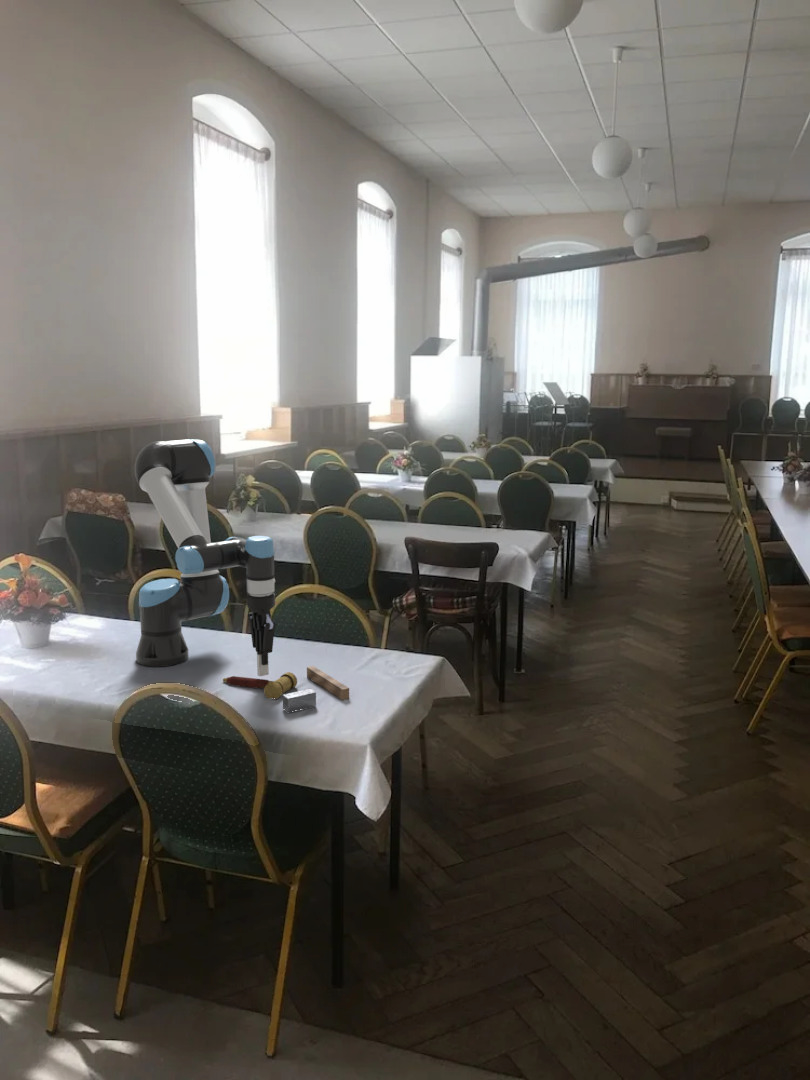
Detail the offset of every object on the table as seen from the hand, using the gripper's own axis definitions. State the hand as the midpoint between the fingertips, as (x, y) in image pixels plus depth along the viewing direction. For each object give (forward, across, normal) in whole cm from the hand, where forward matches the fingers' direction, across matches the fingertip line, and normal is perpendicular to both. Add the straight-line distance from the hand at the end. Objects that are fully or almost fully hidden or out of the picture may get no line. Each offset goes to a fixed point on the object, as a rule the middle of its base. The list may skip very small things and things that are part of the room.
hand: (263, 674), depth 238 cm
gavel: (+3, -3, +4) cm, 5 cm away
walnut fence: (+2, -13, -13) cm, 19 cm away
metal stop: (+2, -22, 0) cm, 22 cm away
